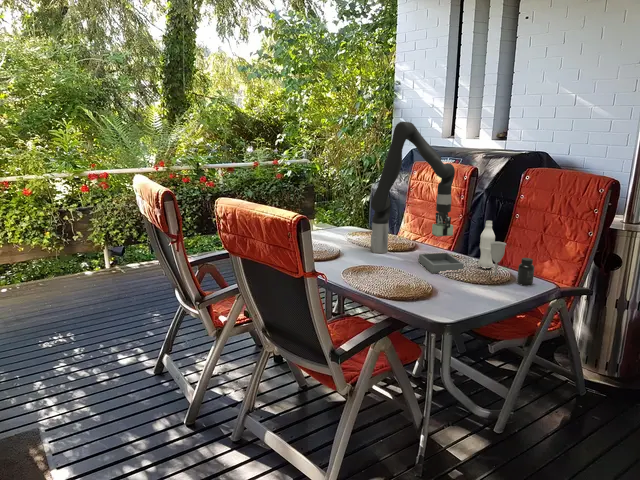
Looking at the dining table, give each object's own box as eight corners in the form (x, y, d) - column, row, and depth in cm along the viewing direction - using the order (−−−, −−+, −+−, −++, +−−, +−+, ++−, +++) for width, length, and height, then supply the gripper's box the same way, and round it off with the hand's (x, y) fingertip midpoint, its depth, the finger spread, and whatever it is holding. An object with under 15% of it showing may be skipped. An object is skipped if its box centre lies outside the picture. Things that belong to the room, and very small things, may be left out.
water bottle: (493, 267, 254) (497, 220, 248) (491, 271, 248) (495, 223, 242) (478, 265, 257) (482, 219, 251) (476, 269, 251) (480, 221, 244)
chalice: (502, 277, 237) (506, 242, 233) (503, 282, 231) (506, 245, 227) (487, 276, 240) (490, 241, 235) (486, 280, 234) (490, 244, 229)
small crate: (436, 236, 255) (437, 226, 253) (431, 234, 260) (432, 223, 259) (452, 235, 256) (453, 225, 255) (447, 233, 262) (448, 223, 261)
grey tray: (432, 273, 244) (433, 265, 243) (418, 262, 263) (419, 254, 262) (463, 272, 246) (463, 263, 245) (446, 260, 266) (447, 252, 264)
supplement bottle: (532, 282, 231) (535, 258, 228) (532, 286, 225) (535, 262, 222) (517, 280, 234) (519, 256, 231) (516, 284, 228) (519, 260, 225)
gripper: (431, 200, 260) (430, 231, 264) (443, 205, 247) (441, 237, 251) (444, 200, 262) (443, 230, 266) (456, 204, 248) (455, 236, 252)
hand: (442, 233), depth 258 cm, fingers closed on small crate, 6 cm apart
